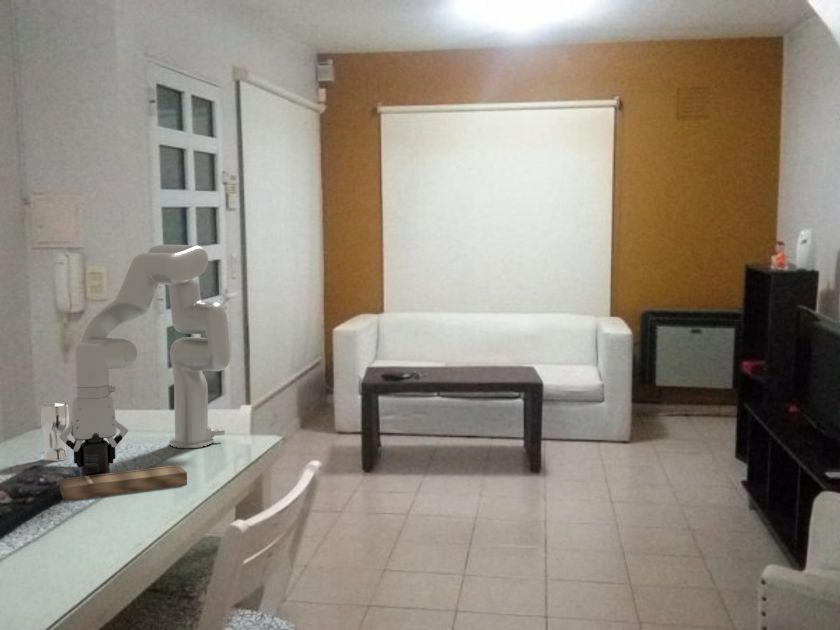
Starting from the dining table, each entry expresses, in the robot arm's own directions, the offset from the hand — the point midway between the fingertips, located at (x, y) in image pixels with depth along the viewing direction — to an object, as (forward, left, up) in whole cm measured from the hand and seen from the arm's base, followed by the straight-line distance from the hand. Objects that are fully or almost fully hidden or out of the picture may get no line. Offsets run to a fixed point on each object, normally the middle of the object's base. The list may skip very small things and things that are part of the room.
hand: (95, 463), depth 209 cm
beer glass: (+6, -29, -5) cm, 30 cm away
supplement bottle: (0, 0, -4) cm, 4 cm away
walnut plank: (-5, +9, -5) cm, 11 cm away
